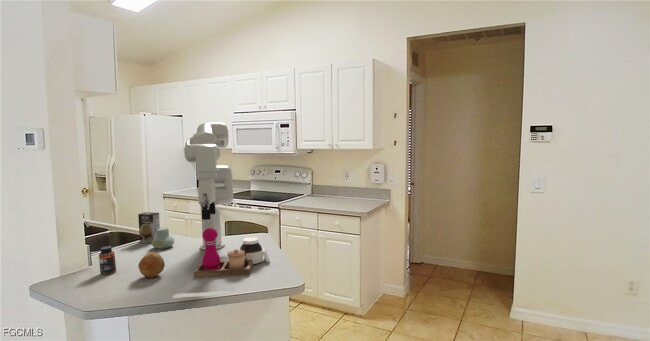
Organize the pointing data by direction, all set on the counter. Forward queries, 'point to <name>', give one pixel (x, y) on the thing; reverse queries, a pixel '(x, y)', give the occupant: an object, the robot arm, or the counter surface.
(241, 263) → the salt crock
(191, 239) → the counter surface
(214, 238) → the pepper mill
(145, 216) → the coffee box
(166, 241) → the air freshener
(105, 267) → the supplement bottle
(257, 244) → the spread jar
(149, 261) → the onion
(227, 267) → the caddy
